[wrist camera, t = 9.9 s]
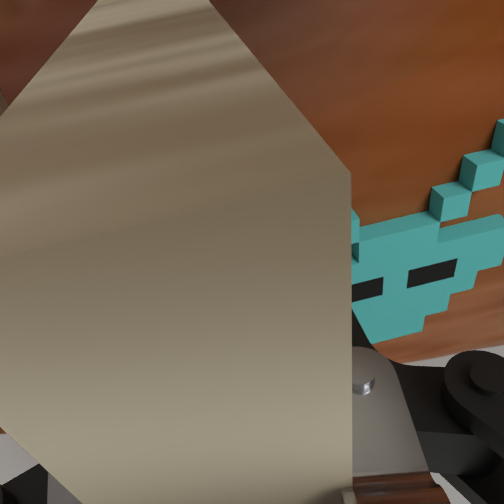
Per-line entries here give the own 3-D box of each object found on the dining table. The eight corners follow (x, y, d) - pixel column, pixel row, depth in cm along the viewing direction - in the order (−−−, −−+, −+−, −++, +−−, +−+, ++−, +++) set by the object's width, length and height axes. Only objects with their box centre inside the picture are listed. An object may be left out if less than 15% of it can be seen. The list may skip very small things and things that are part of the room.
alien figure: (258, 173, 29) (286, 346, 42) (264, 188, 28) (292, 364, 40) (521, 111, 30) (472, 299, 43) (543, 122, 29) (485, 314, 41)
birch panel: (102, -6, 14) (-147, 291, 2) (188, -24, 14) (351, 174, 3) (190, 259, 22) (233, 643, 10) (245, 246, 22) (353, 609, 10)
